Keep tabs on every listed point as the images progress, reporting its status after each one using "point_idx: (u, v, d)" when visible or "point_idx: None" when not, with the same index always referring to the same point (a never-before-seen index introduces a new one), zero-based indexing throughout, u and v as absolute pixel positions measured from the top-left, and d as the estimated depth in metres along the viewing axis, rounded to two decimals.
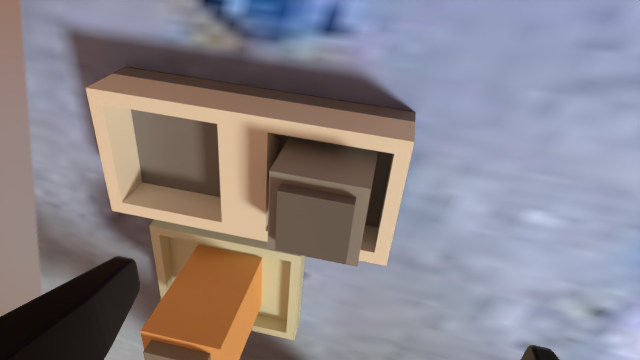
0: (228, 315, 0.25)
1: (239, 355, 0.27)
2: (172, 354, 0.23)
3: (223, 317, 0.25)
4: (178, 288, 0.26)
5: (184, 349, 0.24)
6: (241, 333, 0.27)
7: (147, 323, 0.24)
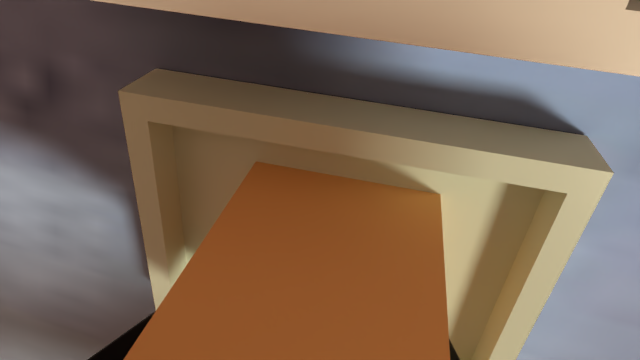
0: None
1: None
2: None
3: None
4: (212, 277, 0.07)
5: None
6: None
7: None
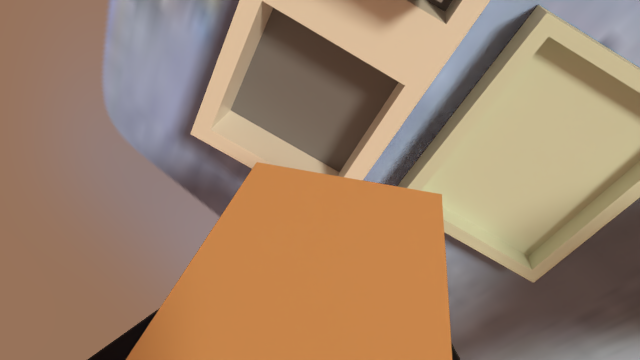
0: None
1: None
2: None
3: None
4: (213, 278, 0.07)
5: None
6: None
7: None
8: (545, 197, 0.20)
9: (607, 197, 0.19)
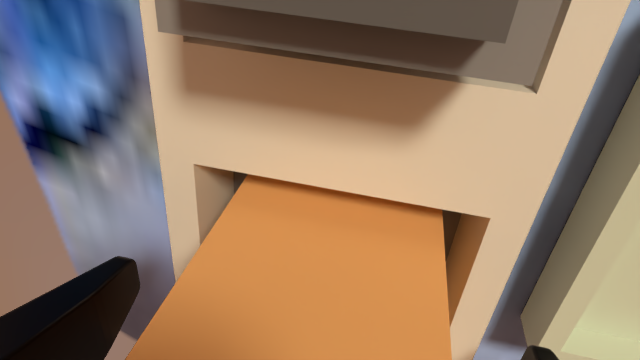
0: (427, 356, 0.06)
1: None
2: None
3: None
4: (224, 258, 0.08)
5: None
6: None
7: None
8: None
9: None
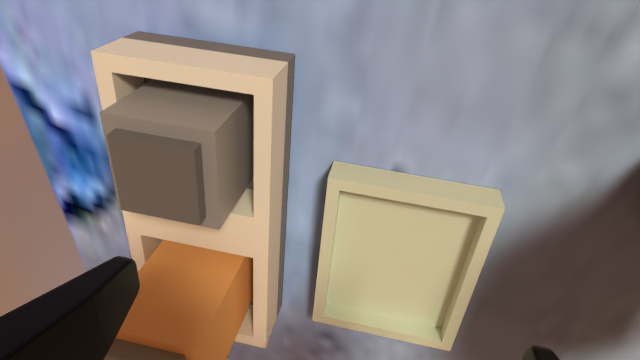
0: (210, 307, 0.20)
1: (225, 357, 0.22)
2: (135, 356, 0.18)
3: (203, 309, 0.20)
4: (148, 274, 0.21)
5: (152, 349, 0.18)
6: (227, 330, 0.22)
7: None
8: (423, 283, 0.24)
9: (463, 274, 0.22)
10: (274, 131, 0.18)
